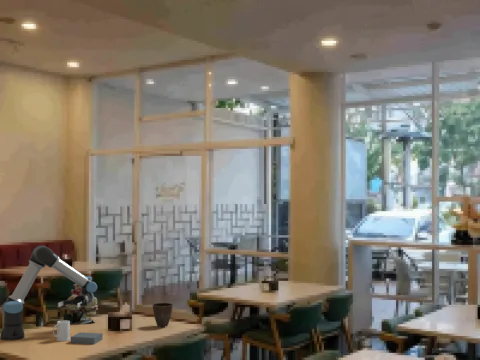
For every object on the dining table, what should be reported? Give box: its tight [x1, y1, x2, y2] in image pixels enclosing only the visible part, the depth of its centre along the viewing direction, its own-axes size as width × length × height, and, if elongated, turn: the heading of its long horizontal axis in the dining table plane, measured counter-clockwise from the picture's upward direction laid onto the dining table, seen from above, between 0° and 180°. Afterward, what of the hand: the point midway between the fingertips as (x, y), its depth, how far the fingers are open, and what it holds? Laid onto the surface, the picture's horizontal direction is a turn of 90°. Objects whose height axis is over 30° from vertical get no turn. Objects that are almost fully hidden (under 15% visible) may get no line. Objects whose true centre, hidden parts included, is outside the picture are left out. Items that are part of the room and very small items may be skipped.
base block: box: [70, 332, 103, 345], centre depth 382 cm, size 16×14×4 cm
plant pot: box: [152, 302, 173, 328], centre depth 434 cm, size 15×15×16 cm
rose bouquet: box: [62, 283, 99, 326], centre depth 449 cm, size 26×29×30 cm
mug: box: [52, 320, 71, 342], centre depth 385 cm, size 12×8×12 cm
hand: (68, 305), depth 395 cm, fingers open, 13 cm apart
